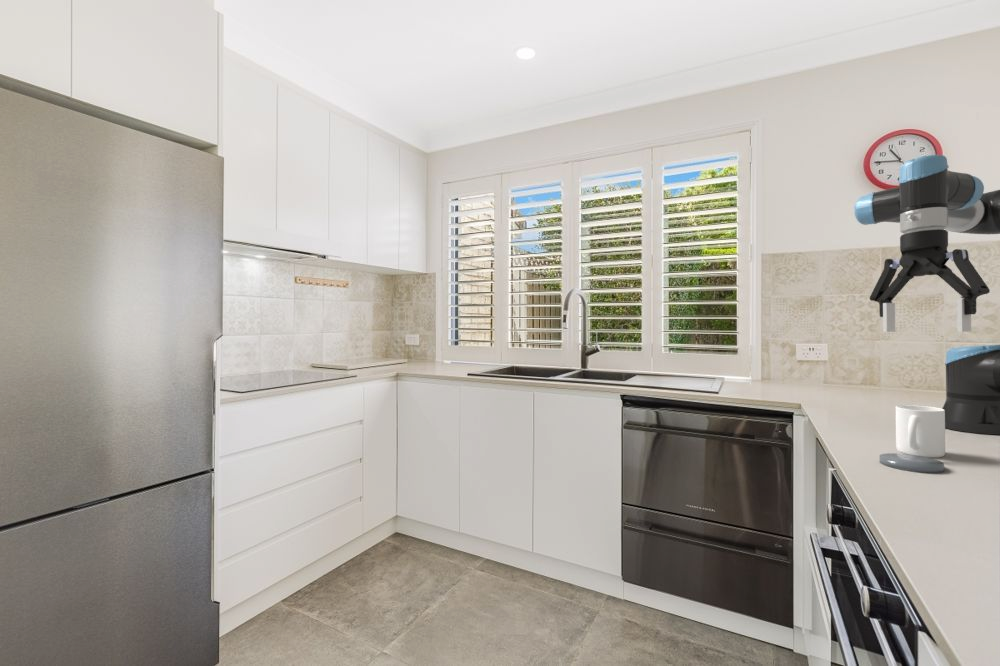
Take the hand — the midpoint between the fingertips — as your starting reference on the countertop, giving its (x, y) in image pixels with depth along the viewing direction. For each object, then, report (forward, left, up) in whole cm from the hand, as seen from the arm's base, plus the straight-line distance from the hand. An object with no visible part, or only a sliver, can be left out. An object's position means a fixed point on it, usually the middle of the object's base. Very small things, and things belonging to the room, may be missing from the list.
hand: (924, 331), depth 98 cm
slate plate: (+6, 0, -28) cm, 28 cm away
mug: (-5, -4, -28) cm, 29 cm away
